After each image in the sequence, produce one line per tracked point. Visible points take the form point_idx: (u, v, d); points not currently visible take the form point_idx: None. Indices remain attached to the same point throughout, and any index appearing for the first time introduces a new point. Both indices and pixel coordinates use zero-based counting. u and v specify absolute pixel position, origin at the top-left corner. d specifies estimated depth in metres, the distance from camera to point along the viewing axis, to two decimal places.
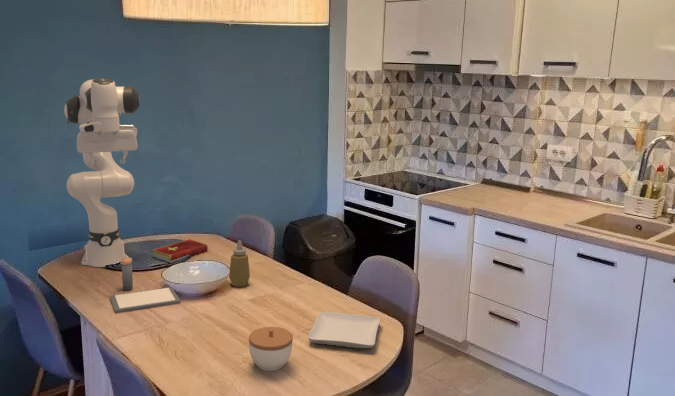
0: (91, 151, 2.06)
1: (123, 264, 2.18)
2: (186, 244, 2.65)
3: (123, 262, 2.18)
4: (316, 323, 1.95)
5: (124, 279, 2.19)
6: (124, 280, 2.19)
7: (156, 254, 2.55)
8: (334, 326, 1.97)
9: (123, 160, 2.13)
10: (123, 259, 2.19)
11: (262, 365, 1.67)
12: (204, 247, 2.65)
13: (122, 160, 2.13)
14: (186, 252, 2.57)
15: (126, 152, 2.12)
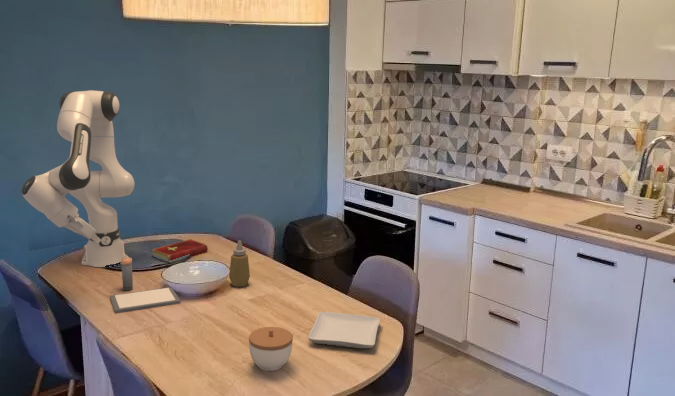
0: (75, 232, 2.12)
1: (123, 264, 2.18)
2: (186, 244, 2.65)
3: (123, 262, 2.18)
4: (316, 323, 1.95)
5: (124, 279, 2.19)
6: (124, 280, 2.19)
7: (156, 254, 2.56)
8: (334, 326, 1.97)
9: (95, 241, 2.06)
10: (123, 259, 2.19)
11: (262, 365, 1.67)
12: (204, 247, 2.65)
13: (94, 241, 2.06)
14: (185, 252, 2.56)
15: None
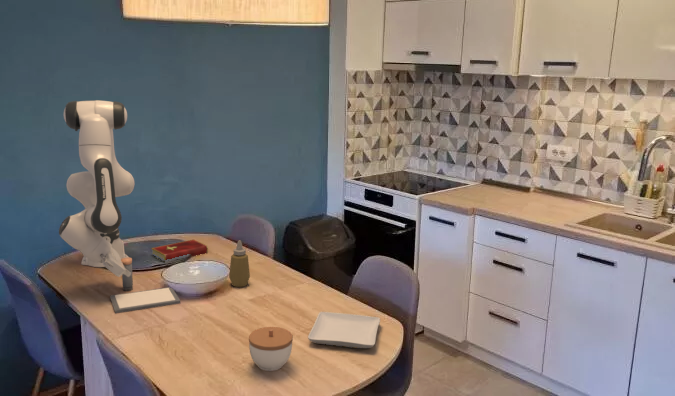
0: None
1: (123, 264, 2.18)
2: (187, 244, 2.65)
3: (123, 262, 2.18)
4: (316, 323, 1.95)
5: (124, 279, 2.19)
6: (124, 280, 2.19)
7: (154, 253, 2.57)
8: (334, 326, 1.97)
9: None
10: (123, 259, 2.19)
11: (262, 365, 1.67)
12: (204, 248, 2.63)
13: None
14: (183, 252, 2.56)
15: None
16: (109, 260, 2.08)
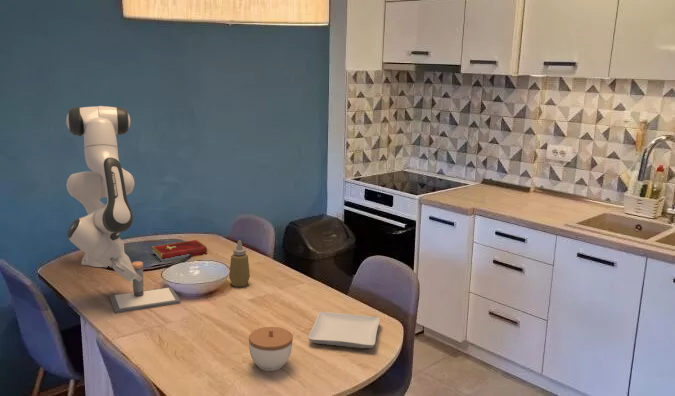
0: None
1: (134, 268, 2.10)
2: (187, 244, 2.65)
3: (134, 266, 2.10)
4: (316, 323, 1.95)
5: (135, 284, 2.11)
6: (135, 285, 2.11)
7: (154, 251, 2.59)
8: (334, 326, 1.97)
9: None
10: (134, 263, 2.11)
11: (262, 365, 1.67)
12: (203, 249, 2.62)
13: None
14: (180, 252, 2.56)
15: None
16: (120, 264, 2.00)
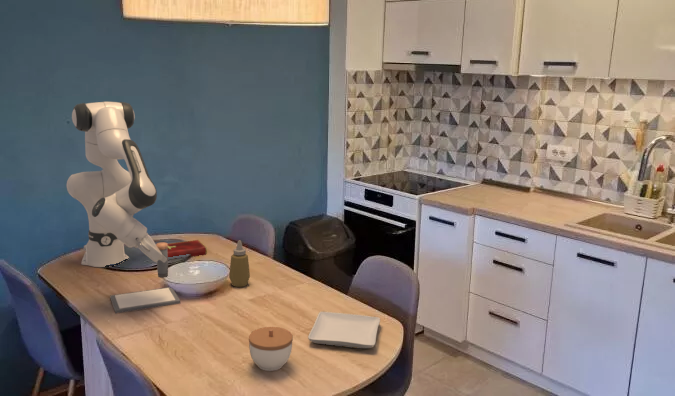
0: None
1: None
2: (188, 244, 2.65)
3: (159, 247, 2.06)
4: (316, 323, 1.95)
5: (159, 265, 2.08)
6: (159, 266, 2.08)
7: None
8: (334, 326, 1.97)
9: (161, 260, 2.06)
10: (158, 244, 2.07)
11: (262, 365, 1.67)
12: (202, 250, 2.61)
13: (161, 260, 2.07)
14: (179, 252, 2.56)
15: None
16: (145, 244, 1.96)
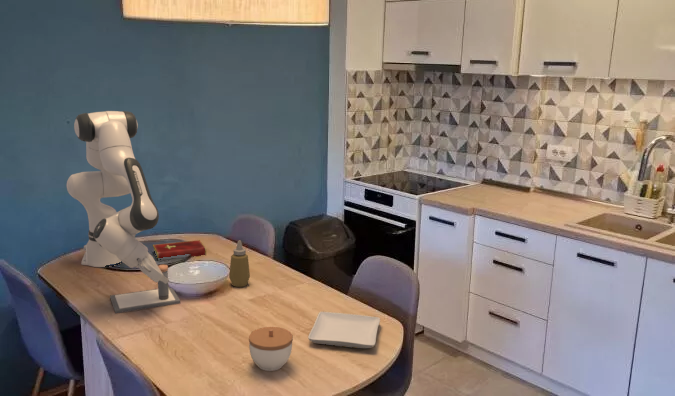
0: None
1: None
2: (188, 244, 2.65)
3: None
4: (316, 323, 1.94)
5: (160, 287, 2.10)
6: (160, 288, 2.10)
7: (154, 250, 2.61)
8: (334, 326, 1.97)
9: (163, 281, 2.07)
10: (159, 266, 2.10)
11: (262, 365, 1.67)
12: (202, 250, 2.61)
13: None
14: (178, 252, 2.56)
15: None
16: (146, 265, 1.98)
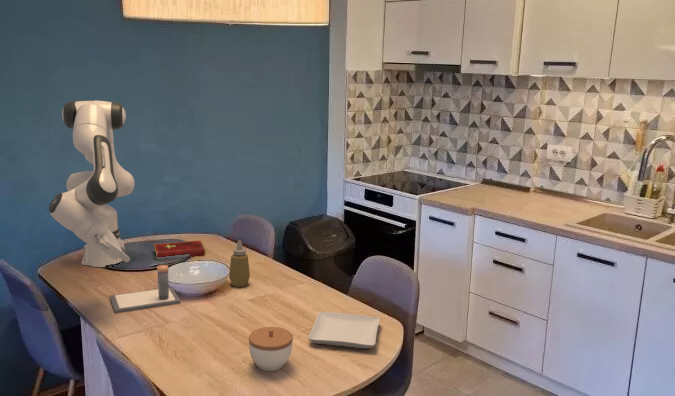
0: None
1: (159, 272, 2.08)
2: (188, 244, 2.65)
3: (159, 270, 2.08)
4: (316, 323, 1.94)
5: (160, 287, 2.10)
6: (160, 288, 2.10)
7: None
8: (334, 326, 1.97)
9: None
10: (159, 266, 2.09)
11: (262, 365, 1.67)
12: (201, 251, 2.60)
13: None
14: (177, 251, 2.56)
15: None
16: (104, 241, 1.90)
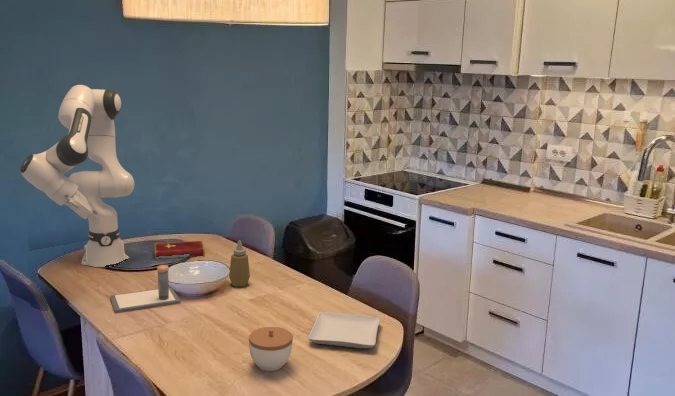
0: None
1: (159, 272, 2.08)
2: (189, 244, 2.65)
3: (159, 270, 2.08)
4: (316, 323, 1.94)
5: (160, 287, 2.10)
6: (160, 288, 2.10)
7: None
8: (334, 326, 1.97)
9: None
10: (159, 267, 2.09)
11: (262, 365, 1.67)
12: (200, 251, 2.60)
13: (94, 220, 2.04)
14: (176, 251, 2.57)
15: (87, 217, 2.02)
16: (74, 201, 1.96)
